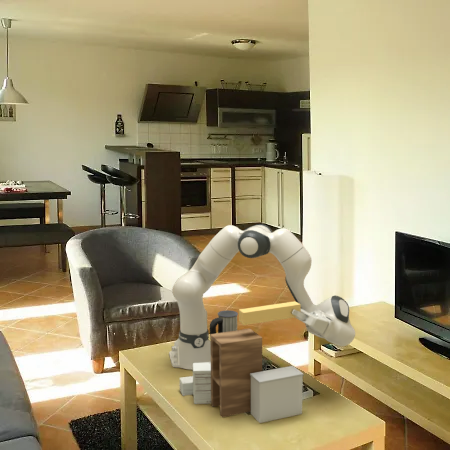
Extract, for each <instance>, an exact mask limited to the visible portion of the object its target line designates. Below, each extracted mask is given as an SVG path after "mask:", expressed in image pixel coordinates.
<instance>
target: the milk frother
mask: <svg viewBox="0 0 450 450" xmlns="http://www.w3.org/2000/svg"><path fill="white" fill-rule="evenodd" d="M217 316H218V317H216V318H213V319H212V320H211V321H210V323H209V335H210V334H216V333H223V332H229V331H236V330H238V316H239V312H238V311H234V310H228V309H227V310H221V311H218V312H217Z"/></svg>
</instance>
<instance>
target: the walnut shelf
mask: <svg viewBox="0 0 450 450" xmlns="http://www.w3.org/2000/svg"><path fill="white" fill-rule="evenodd" d="M209 340H210V345H211V403H210V405H211V406H212V407H213V408H215V407H219V415H220V418H226V417H230V416H236V415H240V414H245V413H246V414H247V413H248V412H249V413H251V376H250V373H256V372H261V371H263V337H262V336H261V335H259V334H258V333H257V332H256V331H254V330H253V329H251V328H243V329H237V330H236V331H229V332H223V333H218V332H216V334H210V333H209Z"/></svg>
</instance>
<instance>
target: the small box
mask: <svg viewBox="0 0 450 450" xmlns="http://www.w3.org/2000/svg"><path fill="white" fill-rule="evenodd" d="M179 391H180V393H181V395H182V396H183V397H185V396H192V395H193V375H192V376H185V377H184V376H183V377H179ZM193 396H194V395H193Z"/></svg>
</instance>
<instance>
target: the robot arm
mask: <svg viewBox="0 0 450 450" xmlns="http://www.w3.org/2000/svg"><path fill="white" fill-rule="evenodd" d="M237 253H240V254H241V256H243V257H245V258H247V259H256V258H259V257H262V256H265V255H268V254H269V253H270V254H272V255H273V256H274V257H275V258H276V259H277V261H278V262H279V263H280V265H281V267H282V268H283V270H284V274H285V277H284V278H285V279H284V280H285V283H286V286H287V289H289V290H288V291H289V293H290V294H291V296H292V297H293V300H294V301H295V302H297V303H299V304H301V312H299V311H297V310H295V309H292V311H291V314H293V315H295V316H297V317H294V318H295V319H297V320H299V321H300V322H302V323H303V324H304V325H305V327H306V330H307V332H308V333H309V334H311V335H314V336H315V337H318V338H321V339H324V340H326V341H327V342H329V343H331V344H334V345H336V346H339V347H345V346H348V345H350V344H351V343H352V342H353V341H354V339H355V337H356V330H355V328H354V326H353V325H352V323H351V321H350V306H349V304H348V302H347V301H346V300H345V299H344V298H343V297H341V296H339V295H332V296H330V297H328V298H326V299H324V300H323V301H322V302H320V303H317V305H316V304H315V303H314V302H313V300H312V299H311V297H310V295H309V294H308V292H307V290H306V288H305V285H304V284H305V278H306V277H307V275H308V274H309V273H310V270H311V267H312V256H311V254H310V253H309V251H308V249H306V247H305V246H304V245H303V243H302V242H301V240H299V238H298V237H296V235H295V234H294V233H293V232H291V231H290V230H289V229H287V228H285V227H284V228H278V229H276V230H274V231H273V230H272V229H271V227H270V226H269V225H266V224H262V223H258V224H254V225H252V226H249V227H246V228H245V229H243V230H242V229H240V228H239V227H238V226H235V225H232V224H229V225H226V226H224V227H223V228H222V229H220V230H219V232H218V233H216V235H214V236H213V237H212V239H211V240H210V241H209V242H208V244H207V245H206V246H205V247H204V249H203V250H202V251H201V252H200V254H199V255H198V257H197V259H196V260H195V262H194V264H193V265H192V267H191V268H190V269H189V270H188V271H186V273H184V274H183V275H181V276H180V277H179V278H177V279H176V281H175V283H174V284H173V285H172V290H171V291H172V296H173V298H174V299H175V300H176V302H177V306H178V310H179V325H180V326H179V327H180V329H179V331H178V338H177V339H176V340H175V341H174V343H173V345H172V346H171V350H170V351H169V352H168V356H169V358H170V362H171V366H172V367H173V368H181V369H185V370H192V371H193V363H205V362H211V345H210V331H209V329H208V311H207V310H206V308H205V304H204V300H203V296H204V294H205V293H206V292H208V291H209V289H210V288H211V287H212V286H213V284H214V283H215V282H216V280H217V279H218V277H219V276H220V275H221V273H222V272H223V271H224V270H225V268H226V267H227V265H229V264H230V262H231V261H232V260H233V258H234V257H235V256H236V255H237Z"/></svg>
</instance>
